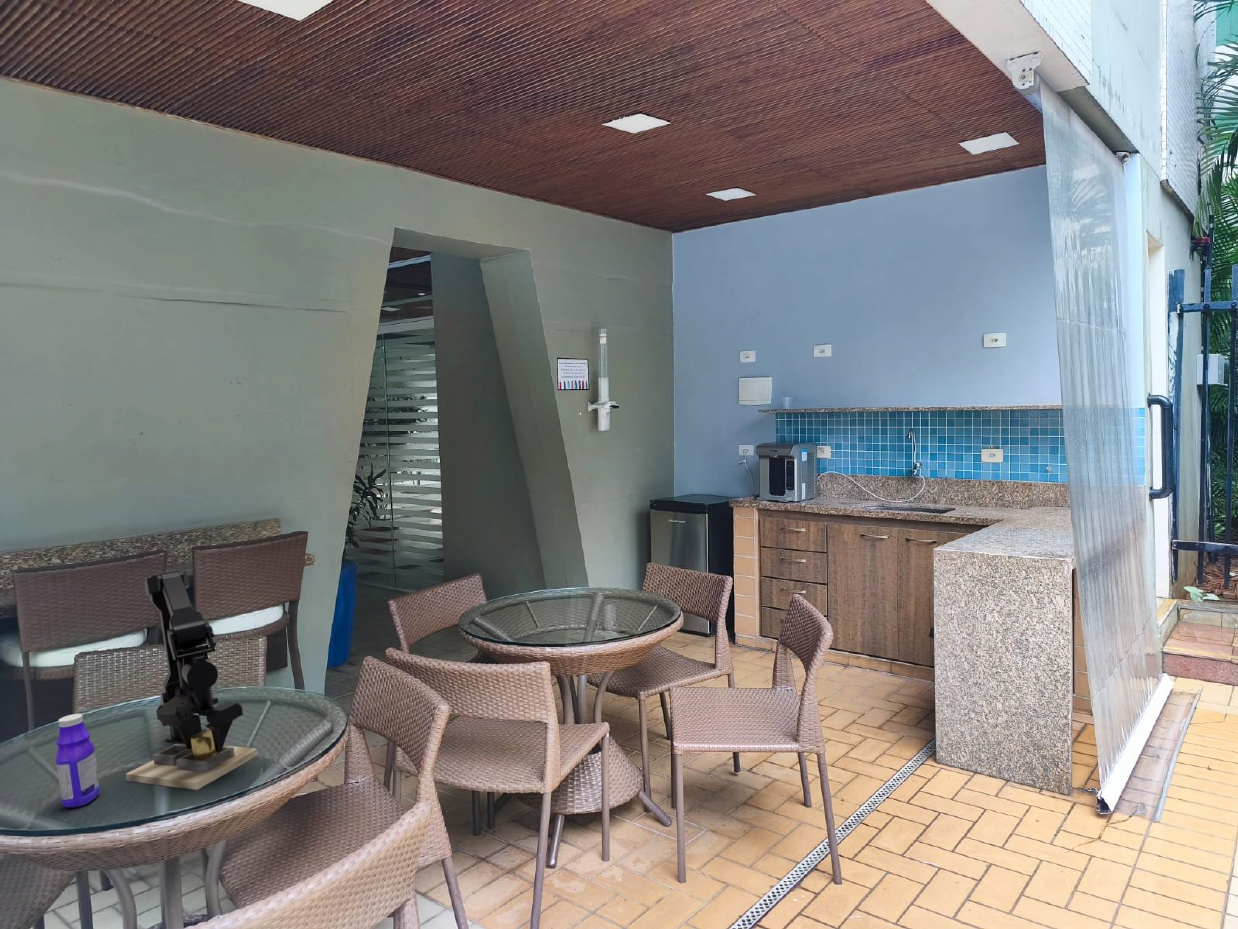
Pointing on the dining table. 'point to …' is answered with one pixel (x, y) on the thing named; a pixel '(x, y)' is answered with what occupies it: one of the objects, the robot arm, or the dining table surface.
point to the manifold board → (189, 767)
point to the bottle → (76, 763)
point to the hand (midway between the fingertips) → (204, 750)
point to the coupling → (203, 746)
